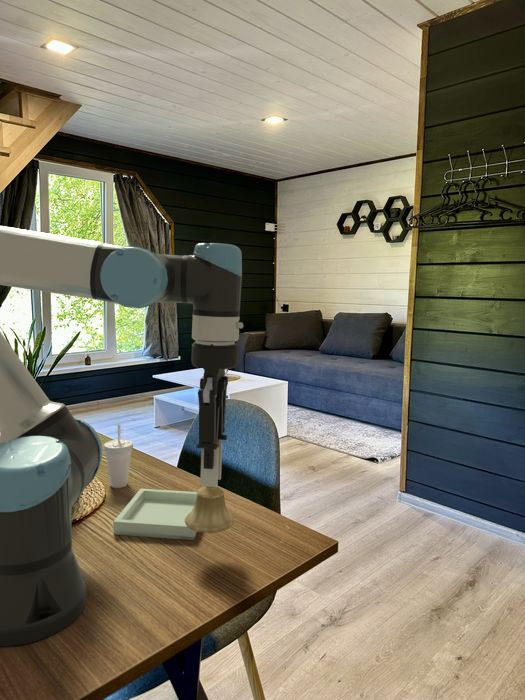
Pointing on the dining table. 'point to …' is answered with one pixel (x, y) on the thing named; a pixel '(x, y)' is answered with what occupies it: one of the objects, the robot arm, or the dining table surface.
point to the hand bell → (209, 511)
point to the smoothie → (118, 460)
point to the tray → (157, 515)
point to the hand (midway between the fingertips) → (210, 481)
